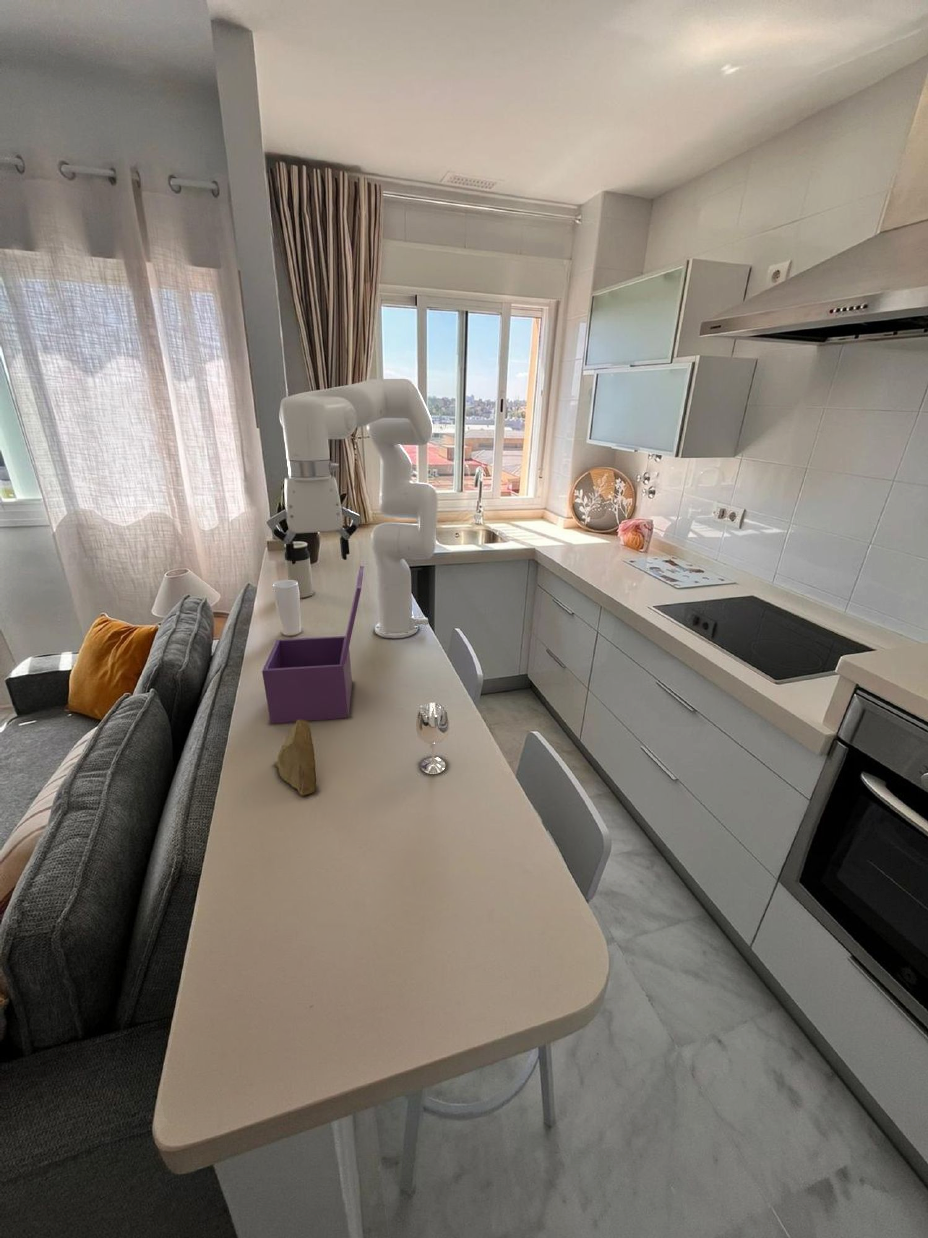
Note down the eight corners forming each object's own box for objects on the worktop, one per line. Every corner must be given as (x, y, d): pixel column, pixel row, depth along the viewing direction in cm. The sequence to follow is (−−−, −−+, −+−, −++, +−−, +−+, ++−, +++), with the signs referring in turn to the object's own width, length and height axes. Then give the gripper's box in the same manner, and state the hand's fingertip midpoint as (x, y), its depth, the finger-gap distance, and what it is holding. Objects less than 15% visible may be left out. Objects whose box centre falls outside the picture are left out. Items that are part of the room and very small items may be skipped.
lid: (357, 587, 93) (361, 588, 93) (360, 565, 106) (363, 566, 107) (341, 663, 99) (345, 664, 99) (346, 633, 112) (349, 634, 112)
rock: (330, 785, 81) (336, 741, 90) (292, 757, 77) (301, 715, 86) (282, 816, 84) (292, 770, 92) (242, 791, 80) (256, 746, 88)
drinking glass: (296, 638, 139) (290, 588, 134) (274, 636, 141) (267, 586, 135) (308, 629, 146) (302, 580, 140) (287, 627, 147) (280, 578, 141)
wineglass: (453, 759, 91) (453, 704, 87) (442, 779, 86) (441, 722, 82) (424, 753, 93) (423, 698, 89) (412, 772, 88) (410, 715, 83)
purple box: (270, 723, 101) (261, 670, 97) (283, 687, 115) (276, 639, 110) (348, 718, 104) (343, 665, 99) (352, 683, 117) (348, 635, 112)
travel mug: (309, 598, 169) (303, 547, 162) (286, 598, 169) (279, 546, 162) (316, 590, 176) (311, 541, 170) (294, 590, 177) (287, 541, 170)
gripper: (354, 466, 97) (360, 551, 103) (259, 469, 91) (272, 559, 98) (360, 470, 90) (366, 561, 97) (258, 473, 85) (272, 569, 91)
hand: (319, 560), depth 97 cm, fingers open, 9 cm apart
